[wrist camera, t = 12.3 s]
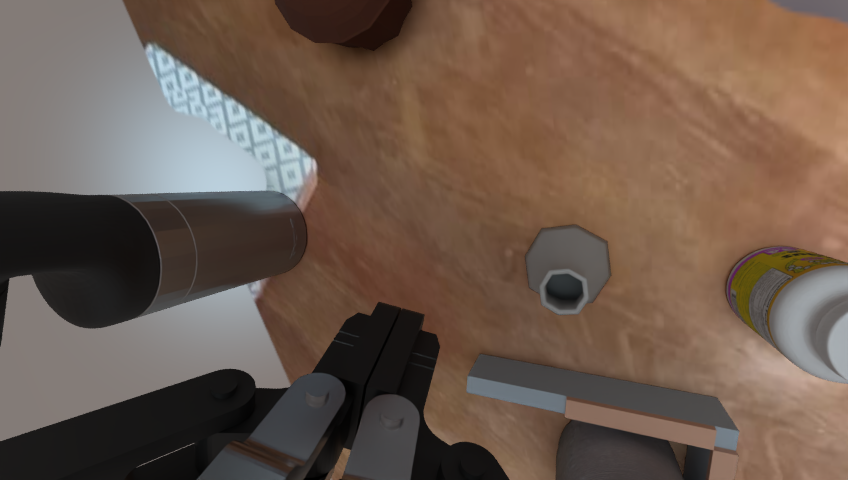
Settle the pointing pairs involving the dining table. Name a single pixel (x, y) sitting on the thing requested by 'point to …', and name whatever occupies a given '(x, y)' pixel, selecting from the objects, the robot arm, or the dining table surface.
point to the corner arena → (619, 409)
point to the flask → (567, 268)
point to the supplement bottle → (796, 306)
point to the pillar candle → (613, 455)
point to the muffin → (346, 20)
